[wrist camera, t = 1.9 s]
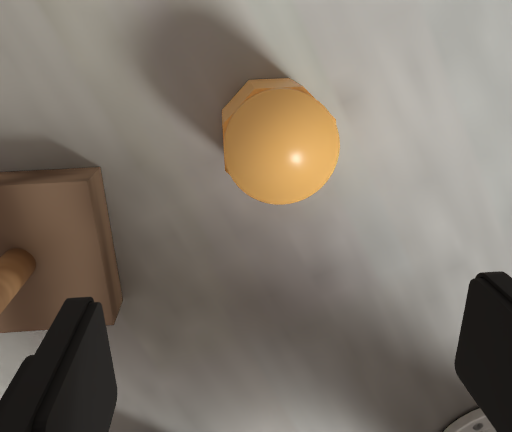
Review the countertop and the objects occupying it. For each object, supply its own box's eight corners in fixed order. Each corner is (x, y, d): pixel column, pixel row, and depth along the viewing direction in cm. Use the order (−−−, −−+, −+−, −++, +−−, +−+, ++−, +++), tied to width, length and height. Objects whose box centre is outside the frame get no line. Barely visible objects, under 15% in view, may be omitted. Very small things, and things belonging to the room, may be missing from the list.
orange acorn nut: (317, 76, 28) (342, 87, 22) (315, 170, 30) (337, 201, 24) (220, 80, 27) (220, 92, 22) (225, 175, 29) (227, 207, 24)
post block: (100, 166, 29) (62, 209, 22) (122, 300, 32) (96, 371, 25) (-62, 175, 28) (-154, 221, 21) (-20, 309, 32) (-86, 386, 25)
